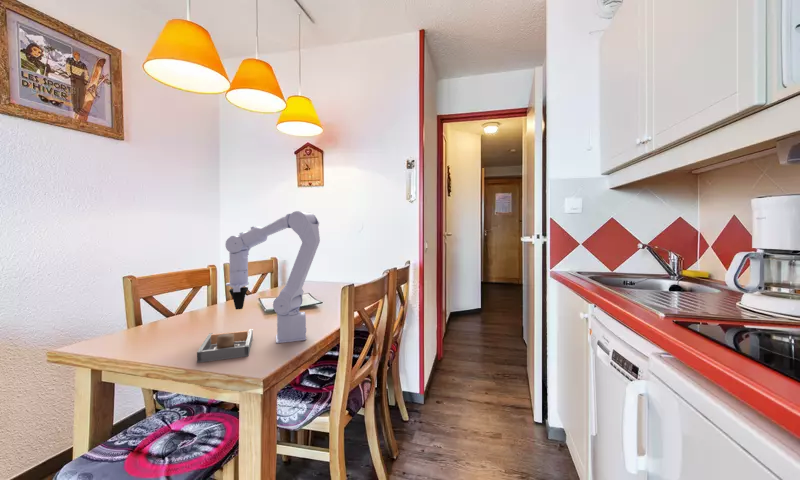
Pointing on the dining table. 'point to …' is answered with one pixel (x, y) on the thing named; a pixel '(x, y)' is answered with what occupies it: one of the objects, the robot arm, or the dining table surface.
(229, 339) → the brown rounded block
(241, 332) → the gate
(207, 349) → the housing
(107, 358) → the dining table surface
